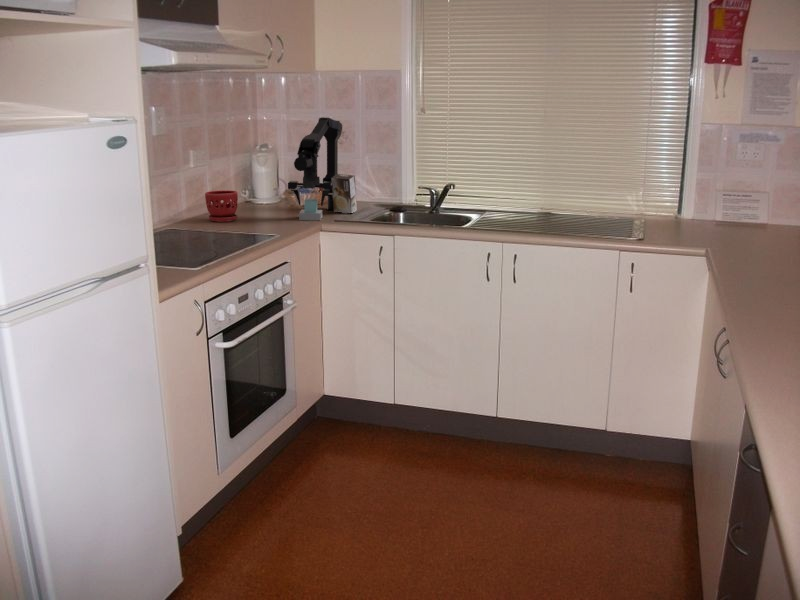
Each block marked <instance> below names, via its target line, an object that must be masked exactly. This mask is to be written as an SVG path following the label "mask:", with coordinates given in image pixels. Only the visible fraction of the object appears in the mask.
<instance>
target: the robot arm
mask: <svg viewBox="0 0 800 600" xmlns="http://www.w3.org/2000/svg"><path fill="white" fill-rule="evenodd" d="M342 132H343V124H342V123H341V121H340V120H335V119H333V118H330V117H319V118H318V122H317V124H316V125H315V126H314V128H313V129H312V131H311V133H309V134H307V135H305V136H304V137H303V138H302V139H301V141H300V143H299V146H298V150H297V156H298V157H296V158H295V160H294V161H293V166H294V168H295V170H297V171H298V172H303V177H302V182H299V181H298V180H289V182H288V183H287V189H288V190H290V191H291V192H293V193H294V195H295V197H296V200H297V202H298V205H299V206H301V194H300V193H301V191H300V188H303V189H316V188H317V189H318V188H319V189H322V191H321V192H322V193H321V201H320V206H321V207H323V204H324V201H325V197H327V207H326V209H327V210H326V211H334V206H333V193H332V189H333V182H332V180H331V178H332V177H333V176H335V175H336V174H338V169H339V168H338V167H339V166H338V165H339V163H338V147H339V146H338V145H339V144H338V141H339V140H340V138H341V136H342ZM323 137H324V138H325V140H326V175H325V176H324V177H323V178H322V183H321V181H320V180H321V179H320V176H318V157H319V151H320V148H321V146H322V144H321V140H322V139H323Z"/></svg>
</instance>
